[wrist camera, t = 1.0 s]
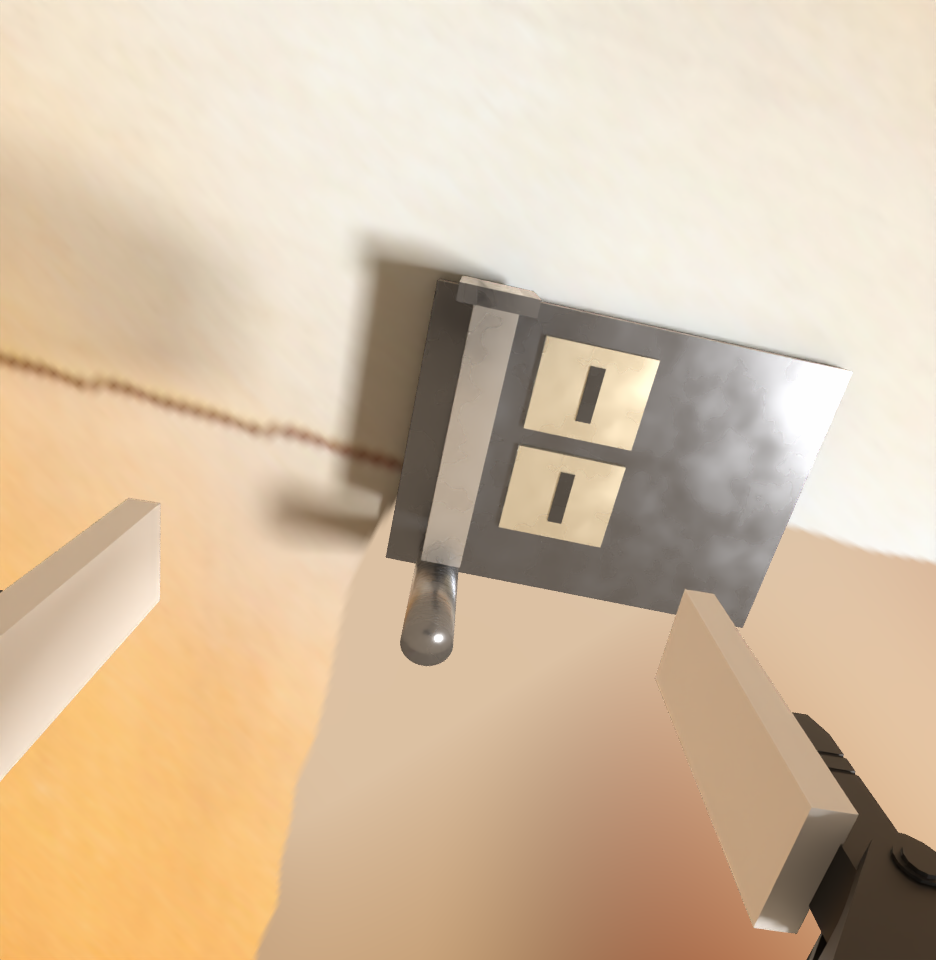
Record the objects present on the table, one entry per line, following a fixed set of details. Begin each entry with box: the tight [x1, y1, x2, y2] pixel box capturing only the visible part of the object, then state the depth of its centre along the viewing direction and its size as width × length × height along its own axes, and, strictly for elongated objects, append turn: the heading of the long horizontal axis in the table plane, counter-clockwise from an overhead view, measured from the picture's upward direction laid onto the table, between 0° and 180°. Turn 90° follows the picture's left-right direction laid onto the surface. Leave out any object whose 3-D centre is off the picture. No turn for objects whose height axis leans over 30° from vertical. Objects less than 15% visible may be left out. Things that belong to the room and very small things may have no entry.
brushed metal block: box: [421, 276, 542, 568], centre depth 32 cm, size 14×4×4 cm, turn 168°
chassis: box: [386, 279, 852, 666], centre depth 32 cm, size 16×22×10 cm
